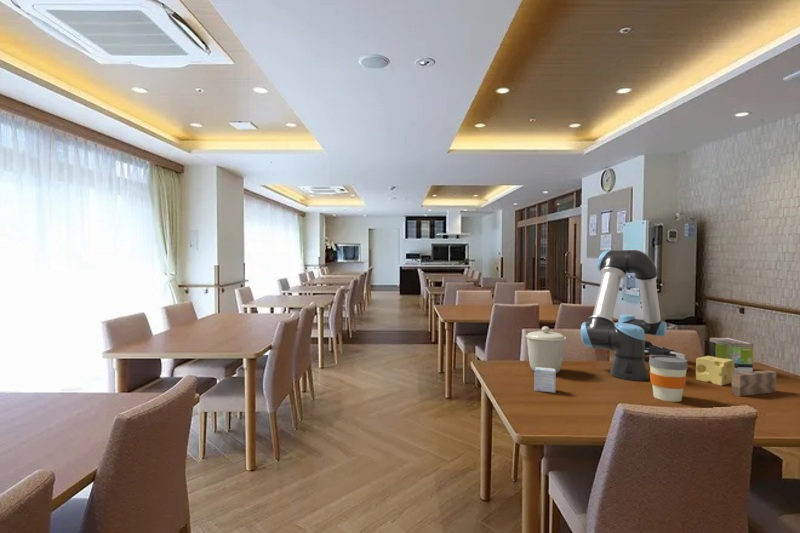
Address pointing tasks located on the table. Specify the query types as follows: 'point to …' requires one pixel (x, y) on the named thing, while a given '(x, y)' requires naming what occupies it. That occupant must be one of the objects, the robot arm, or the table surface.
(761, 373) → the walnut board
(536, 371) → the medicine box
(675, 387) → the reusable coffee cup
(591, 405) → the table surface
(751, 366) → the tea box
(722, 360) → the cheese
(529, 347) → the canister
